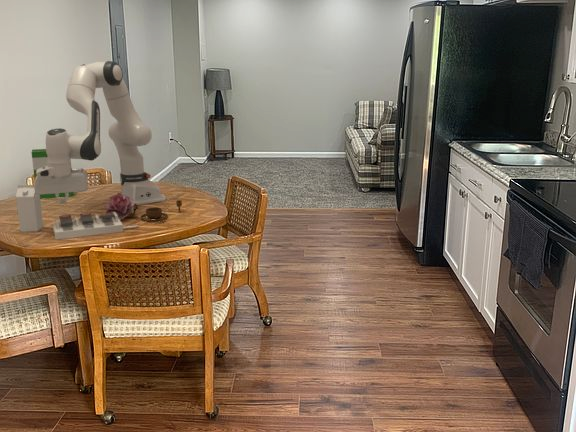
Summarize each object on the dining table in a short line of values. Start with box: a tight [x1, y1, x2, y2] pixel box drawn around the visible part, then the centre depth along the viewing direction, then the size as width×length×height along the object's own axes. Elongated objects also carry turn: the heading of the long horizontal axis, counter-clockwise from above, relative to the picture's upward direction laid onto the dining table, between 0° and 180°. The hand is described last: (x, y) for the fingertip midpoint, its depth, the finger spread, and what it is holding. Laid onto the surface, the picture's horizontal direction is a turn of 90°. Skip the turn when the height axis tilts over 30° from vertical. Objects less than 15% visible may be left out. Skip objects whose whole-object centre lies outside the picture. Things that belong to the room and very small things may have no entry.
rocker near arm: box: [99, 213, 113, 219], centre depth 238 cm, size 4×7×2 cm, turn 25°
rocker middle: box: [79, 212, 94, 224], centre depth 234 cm, size 4×7×2 cm, turn 25°
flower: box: [103, 193, 139, 221], centre depth 253 cm, size 15×15×10 cm
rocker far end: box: [59, 214, 74, 226], centre depth 231 cm, size 4×7×2 cm, turn 25°
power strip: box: [52, 212, 139, 240], centre depth 235 cm, size 32×13×6 cm, turn 115°
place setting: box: [140, 199, 183, 224], centre depth 254 cm, size 18×20×6 cm
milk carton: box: [15, 184, 44, 233], centre depth 233 cm, size 7×7×19 cm
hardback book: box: [30, 148, 75, 200], centre depth 288 cm, size 18×7×24 cm, turn 111°
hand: (62, 203), depth 231 cm, fingers closed
